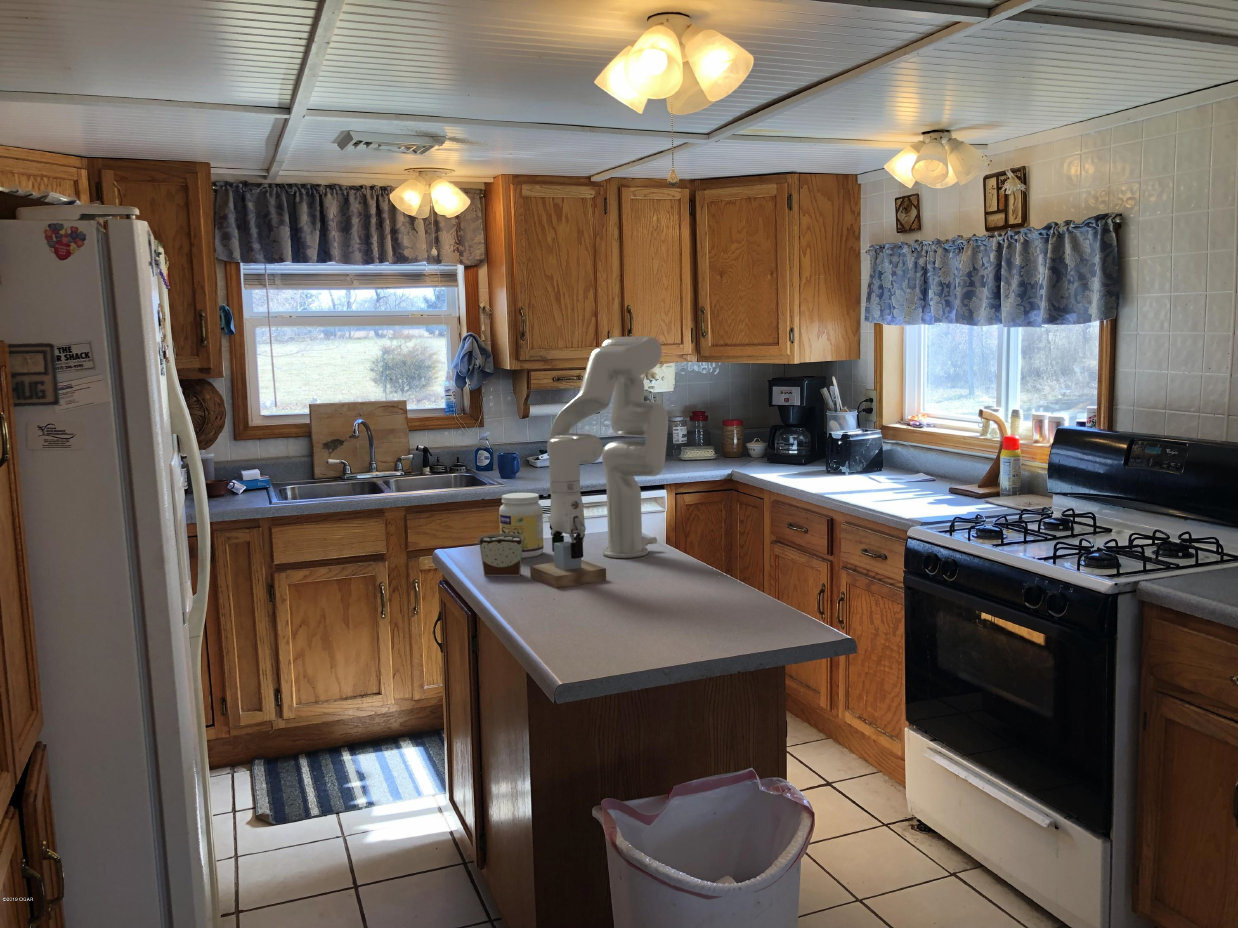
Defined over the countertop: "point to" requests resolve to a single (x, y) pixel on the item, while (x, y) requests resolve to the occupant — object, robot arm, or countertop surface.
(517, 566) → the food container
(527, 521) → the supplement tub
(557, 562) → the slate block
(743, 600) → the countertop surface
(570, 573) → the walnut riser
